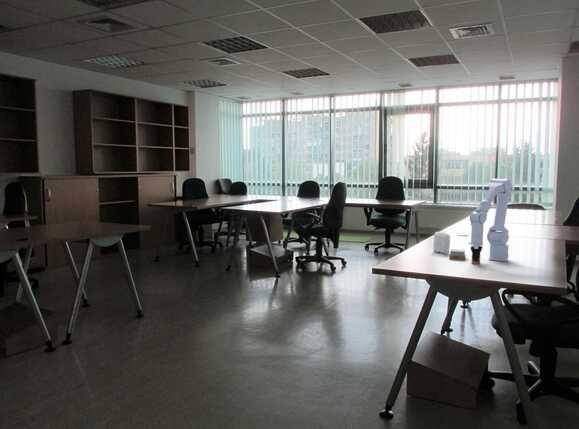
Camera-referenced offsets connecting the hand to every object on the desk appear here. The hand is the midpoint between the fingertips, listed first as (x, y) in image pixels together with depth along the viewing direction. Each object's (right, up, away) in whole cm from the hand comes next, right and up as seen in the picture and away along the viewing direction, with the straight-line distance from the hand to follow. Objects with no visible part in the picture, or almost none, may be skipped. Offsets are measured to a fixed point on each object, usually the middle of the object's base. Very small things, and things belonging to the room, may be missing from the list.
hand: (475, 260), depth 251 cm
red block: (0, -1, 0) cm, 1 cm away
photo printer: (-8, +1, +32) cm, 33 cm away
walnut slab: (-5, -1, +13) cm, 14 cm away
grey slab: (-5, +2, +13) cm, 14 cm away
